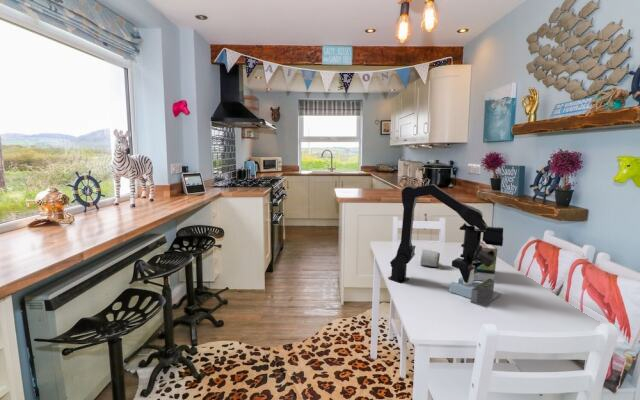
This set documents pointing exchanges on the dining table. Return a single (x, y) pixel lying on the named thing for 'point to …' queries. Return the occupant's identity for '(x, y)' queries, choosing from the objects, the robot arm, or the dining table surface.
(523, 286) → the dining table surface
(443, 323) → the dining table surface
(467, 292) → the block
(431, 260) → the ceramic mug
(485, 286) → the stop wall
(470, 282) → the dowel
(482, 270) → the tea box
